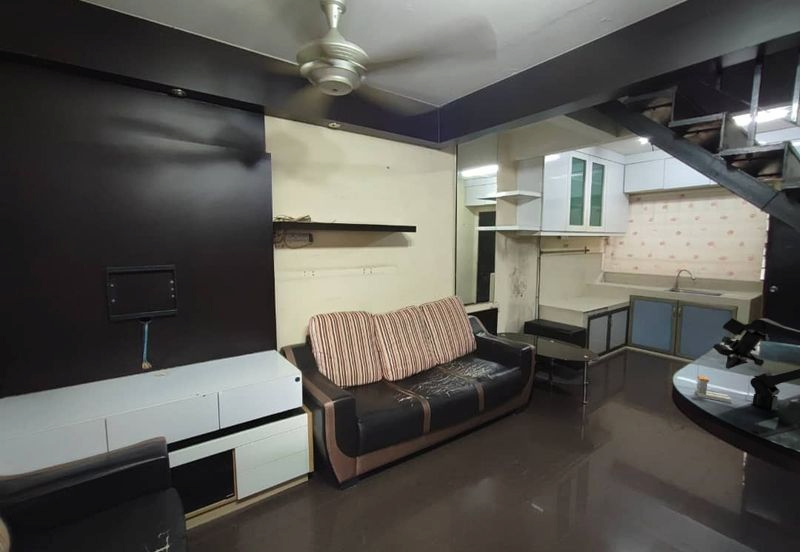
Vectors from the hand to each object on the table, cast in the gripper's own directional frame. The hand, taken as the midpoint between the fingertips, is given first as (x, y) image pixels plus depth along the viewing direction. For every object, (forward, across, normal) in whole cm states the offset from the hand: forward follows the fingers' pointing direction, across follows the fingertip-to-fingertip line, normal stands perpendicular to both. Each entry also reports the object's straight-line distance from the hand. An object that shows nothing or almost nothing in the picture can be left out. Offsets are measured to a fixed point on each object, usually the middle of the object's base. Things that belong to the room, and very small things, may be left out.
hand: (726, 368), depth 166 cm
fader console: (+12, +4, +10) cm, 16 cm away
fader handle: (+12, +10, +8) cm, 17 cm away
